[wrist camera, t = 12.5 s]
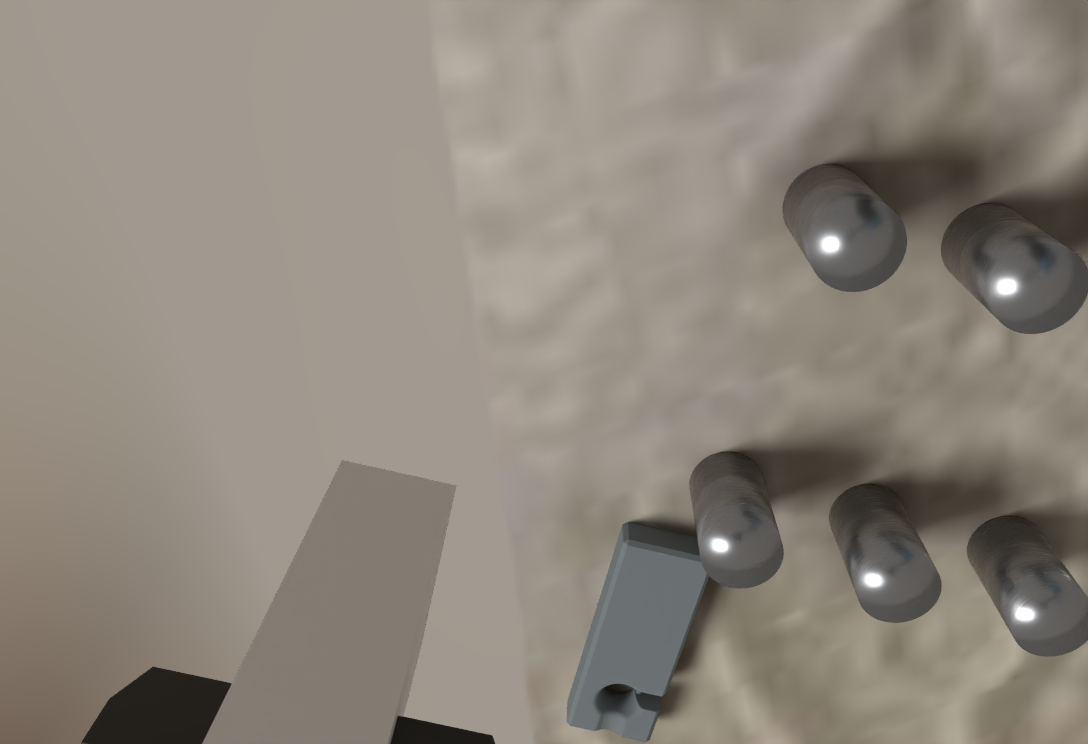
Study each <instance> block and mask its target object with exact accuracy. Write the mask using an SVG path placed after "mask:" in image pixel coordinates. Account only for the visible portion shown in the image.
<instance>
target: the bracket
mask: <svg viewBox="0 0 1088 744" xmlns="http://www.w3.org/2000/svg"><path fill="white" fill-rule="evenodd" d="M708 579H709V576H708V574H707V573H706V572H705V570H704V568H703V566H702V563H701V558H700V552H699V545H698V539H697V537H693V536H688V535H684V534H679V533H675V532H670V531H666V530H662V529H657V528H653V527H648V526H644V525H639V524H635V523H631V522H627V523H625V524H623V525H622V529H621V532H620V535H619V538H618V541H617V545H616V548H615V551H614V554H613V557H612V561H611V564H610V567H609V570H608V573H607V577H606V580H605V583H604V586H603V589H602V592H601V596H600V599H599V602H598V605H597V608H596V612H595V615H594V618H593V621H592V624H591V628H590V631H589V634H588V637H587V640H586V644H585V647H584V650H583V653H582V656H581V660H580V663H579V666H578V669H577V672H576V676H575V679H574V682H573V685H572V688H571V692H570V695H569V698H568V703H567V723H568V724H569V725H570V726H574V727H579V728H583V729H588V730H593V731H596V730H600V729H607V730H610V731H613V732H615V733H617V734H618V735H620V736H621V737H624V738H629V739H633V740H638V741H642V742H647V741H648V740H650V737H651V734H652V732H653V729H654V726H655V723H656V721H657V718H658V715H659V712H660V696H661V697H662V696H663V695H665V694H666V693H667V691H668V688H669V685H670V682H671V680H672V677H673V674H674V672H675V669H676V666H677V663H678V661H679V658H680V655H681V652H682V650H683V647H684V644H685V641H686V639H687V636H688V633H689V631H690V628H691V625H692V622H693V620H694V617H695V614H696V611H697V609H698V606H699V603H700V600H701V598H702V595H703V592H704V590H705V587H706V584H707V581H708ZM611 684H625V685H628V686H631V687H632V688H633V689H631V690H630V691H628V692H625V693H612V692H610V691H608V690H606V689H605V688H604V687H606V686H608V685H611Z"/></svg>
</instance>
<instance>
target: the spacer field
mask: <svg viewBox="0 0 1088 744" xmlns="http://www.w3.org/2000/svg"><path fill="white" fill-rule="evenodd" d="M783 217H784V221H785V224H786V226H787V228H788V229H789V231H790V233H791V234H792V236H793V237H794V239H795V241H796V242H797V244H798V245H799V247H800V249H801V250H802V252H803V253H804V255H805V257H806V258H807V260H808V261H809V263H810V265H811V266H812V268H813V270H814V271H815V273H816V274H817V276H818V277H819V278H820V279H821V280H822V281H823V282H824V283H826V284H827V285H829V286H830V287H833V288H835V289H838V290H841V291H846V292H859V291H864V290H868V289H871V288H874V287H876V286H878V285H880V284H881V283H883V282H884V281H886V280H887V279H888V278H889V277H891V276H892V275H893V274H894V272H895V271H896V270H897V269H898V267H899V266H900V264H901V262H902V260H903V258H904V255H905V252H906V246H907V236H906V230H905V227H904V225H903V222H902V221H901V219H900V217H899V216H898V215H897V214H896V213H895V212H894V211H893V210H892V209H891V208H890V207H889V206H888V205H887V204H886V203H885V202H884V201H883V200H882V199H881V198H880V197H879V196H878V195H877V194H876V193H875V192H874V191H873V190H872V189H871V188H870V187H868V186H867V185H866V184H865V183H864V182H863V181H862V180H861V179H860V178H859V177H858V176H857V175H856V174H855V173H854V172H852V171H851V170H849V169H847V168H845V167H842V166H839V165H829V164H828V165H820V166H816V167H813V168H811V169H809V170H807V171H805V172H804V173H802V174H801V175H800V176H798V177H797V178H796V179H795V180H794V181H793V183H792V184H791V185H790V187H789V189H788V190H787V192H786V195H785V198H784V201H783ZM941 255H942V259H943V262H944V265H945V266H946V268H947V269H948V271H949V272H950V273H951V274H952V275H953V276H954V277H955V278H956V279H957V280H958V281H959V282H960V283H961V284H962V285H963V286H964V287H965V288H966V289H967V290H968V291H969V292H970V293H971V294H972V295H973V296H974V297H975V298H977V299H978V300H979V301H980V302H981V303H982V304H983V305H984V306H985V307H986V308H987V309H988V310H989V311H990V312H991V313H992V314H993V315H994V316H995V317H996V318H997V319H998V320H999V321H1000V322H1001V323H1002V324H1003V325H1004V326H1006V327H1007V328H1009V329H1011V330H1013V331H1016V332H1019V333H1025V334H1038V333H1043V332H1047V331H1050V330H1053V329H1055V328H1057V327H1059V326H1061V325H1063V324H1064V323H1066V322H1067V321H1068V320H1070V319H1071V318H1072V317H1073V316H1074V315H1075V314H1076V313H1077V312H1078V310H1079V309H1080V308H1081V306H1082V305H1083V303H1084V301H1085V299H1086V296H1087V294H1088V269H1087V266H1086V265H1085V263H1084V261H1083V260H1082V258H1081V257H1080V256H1079V255H1078V254H1077V253H1075V252H1074V251H1072V250H1071V249H1069V248H1068V247H1066V246H1065V245H1063V244H1062V243H1061V242H1059V241H1058V240H1056V239H1055V238H1053V237H1052V236H1050V235H1049V234H1047V233H1046V232H1044V231H1043V230H1041V229H1040V228H1039V227H1037V226H1036V225H1034V224H1033V223H1031V222H1030V221H1028V220H1027V219H1025V218H1024V217H1022V216H1021V215H1019V214H1018V213H1017V212H1015V211H1014V210H1012V209H1011V208H1009V207H1007V206H1004V205H1001V204H992V203H989V204H981V205H977V206H974V207H972V208H969V209H967V210H966V211H964V212H962V213H961V214H960V215H958V216H957V217H956V218H955V219H954V220H953V221H952V223H951V224H950V225H949V227H948V228H947V230H946V232H945V234H944V237H943V239H942V244H941ZM689 485H690V494H691V500H692V507H693V513H694V520H695V526H696V533H697V539H698V545H699V552H700V558H701V563H702V566H703V568H704V570H705V572H706V573H707V574H708V576H709V577H710V578H712V579H713V580H714V581H716V582H717V583H719V584H721V585H724V586H727V587H731V588H749V587H754V586H757V585H759V584H762V583H764V582H766V581H767V580H768V579H770V578H771V577H772V576H773V575H774V574H775V573H776V572H777V571H778V569H779V568H780V565H781V563H782V560H783V555H784V553H783V545H782V541H781V538H780V535H779V531H778V528H777V524H776V521H775V518H774V514H773V511H772V507H771V504H770V500H769V497H768V494H767V490H766V487H765V483H764V480H763V476H762V473H761V471H760V469H759V467H758V466H757V464H756V463H755V462H754V461H752V460H751V459H750V458H748V457H746V456H744V455H742V454H739V453H734V452H722V453H717V454H714V455H711V456H709V457H707V458H705V459H704V460H702V461H701V462H700V463H699V464H698V465H697V466H696V467H695V469H694V471H693V472H692V475H691V478H690V484H689ZM829 522H830V526H831V529H832V532H833V534H834V537H835V539H836V542H837V545H838V547H839V550H840V553H841V555H842V558H843V560H844V563H845V566H846V568H847V571H848V573H849V576H850V579H851V581H852V584H853V587H854V589H855V592H856V594H857V597H858V600H859V602H860V604H861V606H862V608H863V609H864V610H865V611H866V612H867V613H868V614H869V615H870V616H872V617H874V618H876V619H878V620H881V621H884V622H892V623H898V622H906V621H910V620H913V619H916V618H918V617H920V616H922V615H923V614H925V613H926V612H928V611H929V610H930V609H931V608H932V607H933V606H934V605H935V603H936V602H937V600H938V598H939V596H940V593H941V586H942V585H941V579H940V576H939V574H938V572H937V570H936V568H935V566H934V564H933V562H932V560H931V558H930V556H929V554H928V552H927V551H926V549H925V547H924V545H923V543H922V541H921V539H920V537H919V535H918V533H917V531H916V529H915V528H914V526H913V524H912V522H911V520H910V518H909V516H908V514H907V512H906V510H905V508H904V506H903V505H902V503H901V501H900V499H899V498H898V496H897V495H896V494H895V493H894V492H893V491H891V490H890V489H888V488H886V487H883V486H880V485H873V484H867V485H860V486H856V487H853V488H851V489H849V490H847V491H845V492H844V493H843V494H841V495H840V496H839V497H838V498H837V499H836V500H835V502H834V503H833V505H832V507H831V510H830V514H829ZM967 555H968V559H969V561H970V563H971V565H972V566H973V568H974V570H975V572H976V573H977V575H978V577H979V579H980V580H981V582H982V584H983V585H984V587H985V589H986V591H987V592H988V594H989V596H990V597H991V599H992V601H993V603H994V604H995V606H996V608H997V610H998V611H999V613H1000V615H1001V616H1002V618H1003V620H1004V622H1005V623H1006V625H1007V627H1008V628H1009V630H1010V632H1011V634H1012V635H1013V637H1014V639H1015V640H1016V642H1017V644H1018V645H1019V646H1020V647H1021V648H1023V649H1024V650H1025V651H1027V652H1029V653H1031V654H1034V655H1038V656H1058V655H1063V654H1066V653H1069V652H1071V651H1073V650H1075V649H1077V648H1079V647H1080V646H1082V645H1083V644H1084V643H1085V642H1086V641H1087V640H1088V597H1087V596H1086V594H1085V593H1084V592H1083V590H1082V589H1081V588H1080V586H1079V585H1078V583H1077V582H1076V581H1075V579H1074V578H1073V577H1072V575H1071V574H1070V572H1069V571H1068V570H1067V568H1066V567H1065V566H1064V564H1063V563H1062V561H1061V560H1060V559H1059V557H1058V556H1057V555H1056V553H1055V552H1054V550H1053V549H1052V548H1051V546H1050V545H1049V543H1048V542H1047V541H1046V539H1045V538H1044V537H1043V535H1042V534H1041V532H1040V531H1039V530H1038V528H1037V527H1036V526H1035V525H1034V524H1033V523H1032V522H1030V521H1028V520H1026V519H1024V518H1020V517H1015V516H1005V517H999V518H995V519H993V520H990V521H988V522H986V523H985V524H983V525H982V526H980V527H979V528H978V529H977V530H976V531H975V532H974V533H973V535H972V536H971V538H970V540H969V542H968V546H967Z"/></svg>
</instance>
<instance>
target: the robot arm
mask: <svg viewBox="0 0 1088 744" xmlns="http://www.w3.org/2000/svg"><path fill="white" fill-rule="evenodd" d="M455 489H456V485H451V484H447V483H442V482H438V481H433V480H429V479H424V478H420V477H415V476H411V475H406V474H402V473H397V472H393V471H388V470H384V469H380V468H375V467H370V466H366V465H361V464H357V463H352V462H348V461H344V460H342V462H341V463H340V465H339V468H338V470H337V472H336V473H335V476H334V478H333V480H332V482H331V484H330V486H329V488H328V490H327V492H326V494H325V496H324V498H323V500H322V502H321V504H320V506H319V508H318V510H317V512H316V514H315V516H314V518H313V520H312V522H311V524H310V526H309V528H308V530H307V532H306V534H305V536H304V539H303V540H302V543H301V544H300V546H299V549H298V551H297V553H296V555H295V557H294V559H293V561H292V563H291V565H290V567H289V569H288V571H287V573H286V575H285V577H284V579H283V581H282V583H281V585H280V587H279V589H278V591H277V593H276V595H275V597H274V599H273V602H272V603H271V605H270V607H269V610H268V611H267V613H266V615H265V617H264V619H263V622H262V624H261V626H260V628H259V630H258V632H257V634H256V636H255V638H254V640H253V642H252V644H251V646H250V648H249V650H248V652H247V654H246V656H245V658H244V660H243V662H242V664H241V666H240V668H239V670H238V672H237V674H236V676H235V678H234V680H233V682H232V683H227V682H223V681H218V680H213V679H209V678H204V677H199V676H194V675H190V674H185V673H180V672H176V671H171V670H166V669H161V668H157V667H152V668H151V669H150V670H148V671H147V672H145V673H144V674H143V675H141V676H140V677H139V678H137V679H136V680H134V681H133V682H132V683H130V684H129V685H128V686H126V687H125V688H124V689H122V690H121V691H119V692H118V693H117V694H115V695H114V696H113V697H111V698H110V699H109V700H108V702H107V703H106V705H105V707H104V708H103V710H102V711H101V713H100V714H99V716H98V717H97V719H96V720H95V722H94V724H93V725H92V727H91V728H90V730H89V731H88V733H87V734H86V736H85V738H84V739H83V741H82V742H81V744H495V742H494V739H493V736H492V735H487V734H483V733H477V732H473V731H468V730H464V729H459V728H454V727H450V726H445V725H440V724H435V723H430V722H426V721H421V720H417V719H412V718H407V717H403V715H404V712H405V708H406V704H407V700H408V696H409V692H410V688H411V684H412V680H413V676H414V672H415V668H416V664H417V660H418V657H419V653H420V649H421V644H422V640H423V635H424V631H425V626H426V621H427V616H428V612H429V608H430V603H431V599H432V594H433V590H434V585H435V580H436V575H437V571H438V567H439V562H440V557H441V553H442V548H443V544H444V539H445V534H446V530H447V525H448V521H449V516H450V511H451V507H452V503H453V498H454V493H455Z"/></svg>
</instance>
